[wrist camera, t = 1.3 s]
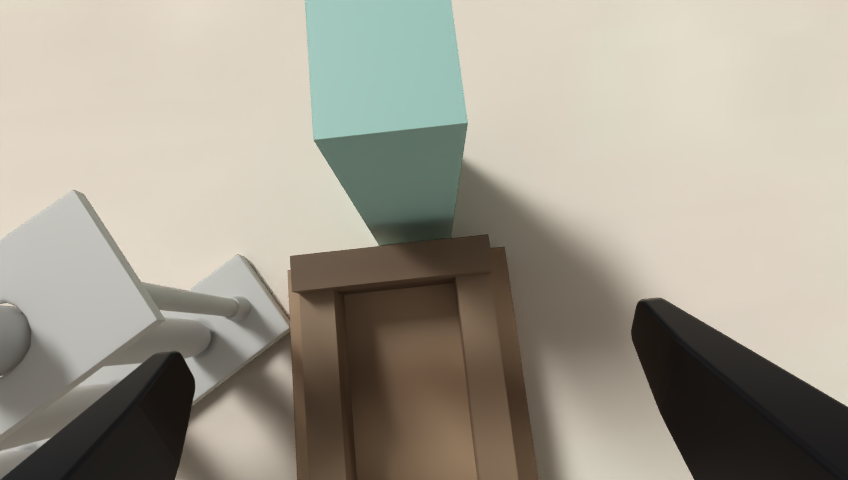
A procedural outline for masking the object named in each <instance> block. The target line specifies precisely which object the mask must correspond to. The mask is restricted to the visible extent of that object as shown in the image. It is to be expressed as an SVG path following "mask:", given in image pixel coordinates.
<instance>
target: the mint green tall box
mask: <svg viewBox="0 0 848 480" xmlns="http://www.w3.org/2000/svg"><path fill="white" fill-rule="evenodd" d="M305 10H306V26H307V42H308V58H309V74H310V91H311V107H312V123H313V139H314V141H315V143H316V145H317V146H318V148H319V149H320V151H321V153H322V154H323V156H324V157H325V159H326V161H327V162H328V164H329V165H330V167H331V169H332V170H333V172H334V173H335V175H336V177H337V178H338V180H339V182H340V183H341V185H342V186H343V188H344V190H345V191H346V193H347V194H348V196H349V198H350V199H351V201H352V202H353V204H354V206H355V207H356V209H357V210H358V212H359V214H360V215H361V217H362V218H363V220H364V222H365V223H366V225H367V227H368V228H369V230H370V231H371V233H372V235H373V236H374V238H375V239H376V241H377V243H378V244H379V246H381V245H390V244H399V243H408V242H417V241H426V240H435V239H445V238H451V232H452V225H453V219H454V212H455V205H456V198H457V192H458V185H459V178H460V171H461V165H462V158H463V151H464V144H465V138H466V131H467V124H468V121H467V114H466V107H465V99H464V92H463V85H462V77H461V70H460V62H459V55H458V48H457V40H456V33H455V26H454V18H453V11H452V3H451V0H305Z"/></svg>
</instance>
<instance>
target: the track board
mask: <svg viewBox="0 0 848 480" xmlns="http://www.w3.org/2000/svg"><path fill="white" fill-rule="evenodd" d="M290 265H291V270H288V289H289V310H290V331H291V353H292V374H293V396H294V417H295V438H296V460H297V480H538V475H537V468H536V461H535V454H534V448H533V441H532V434H531V427H530V420H529V413H528V406H527V399H526V392H525V385H524V378H523V372H522V365H521V358H520V351H519V344H518V337H517V330H516V323H515V316H514V309H513V302H512V296H511V289H510V282H509V275H508V268H507V261H506V254H505V247H497V248H490V244H489V236H488V234H487V235H478V236H469V237H459V238H450V239H441V240H432V241H423V242H414V243H405V244H396V245H386V246H377V247H368V248H359V249H350V250H341V251H332V252H323V253H313V254H304V255H295V256H290Z"/></svg>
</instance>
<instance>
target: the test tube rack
mask: <svg viewBox="0 0 848 480" xmlns="http://www.w3.org/2000/svg"><path fill="white" fill-rule="evenodd" d="M2 303H10V304H12V305H14V306H17V307H14V306H0V376H2V377H0V479H1V478H3V477H4V476H5V475H6V474H7V473H9V472H10V471H11V470H12V469H14V468H15V467H16V466H17V465H19V464H20V463H21V462H22V461H23V460H25V459H26V458H27V457H28V456H30V455H31V454H32V453H33V452H34V451H36V450H37V449H38V448H39V447H41V446H42V445H43V444H44V443H45V442H47V441H48V440H49V439H50V438H52V437H53V436H54V435H55V434H56V433H58V432H59V431H60V430H61V429H63V428H64V427H65V426H66V425H67V424H69V423H70V422H71V421H72V420H73V419H75V418H76V417H77V416H78V415H80V414H81V413H82V412H83V411H84V410H86V409H87V408H88V407H89V406H91V405H92V404H93V403H94V402H95V401H97V400H98V399H99V398H100V397H102V396H103V395H104V394H105V393H106V392H108V391H109V390H110V389H111V388H113V387H114V386H115V385H116V384H117V383H119V382H120V381H121V380H122V379H124V378H125V377H126V376H127V375H128V374H130V373H131V372H132V371H133V370H135V369H136V368H137V367H138V366H139V365H141V364H142V363H143V362H144V361H146V360H147V359H148V358H149V357H150V356H152V355H153V354H155V353H157V352H164V351H173V350H175V351H178V352H180V353H181V354H182V356H183V358H184V360H185V361H186V363H187V365H188V367H189V369H190V371H191V372H192V374H193V376H194V379H195V393H194V398H193V403H192V406H194V405H195V404H196V403H197V402H199V401H200V400H201V399H203V398H204V397H205V396H207V395H208V394H209V393H210V392H212V391H213V390H214V389H216V388H217V387H218V386H220V385H221V384H222V383H224V382H225V381H226V380H227V379H229V378H230V377H231V376H233V375H234V374H235V373H237V372H238V371H239V370H240V369H242V368H243V367H244V366H246V365H247V364H248V363H250V362H251V361H252V360H254V359H255V358H256V357H257V356H259V355H260V354H261V353H263V352H264V351H265V350H267V349H268V348H269V347H271V346H272V345H273V344H275V343H276V342H277V341H278V340H280V339H281V338H282V337H284V336H285V335H286V334H288V333H289V332H290V320H289V319H288V318H287V316H286V315H285V313H284V312H283V311H282V309H281V308H280V306H279V305H278V303H277V302H276V301H275V299H274V298H273V297H272V295H271V294H270V292H269V291H268V289H267V288H266V287H265V285H264V284H263V282H262V281H261V279H260V278H259V277H258V275H257V274H256V272H255V271H254V270H253V268H252V267H251V265H250V264H249V262H248V261H247V260H246V258H245V257H244V256H241V255H239V254H237V255H236V256H234V257H233V258H232V259H230V260H229V261H227V262H226V263H225V264H223V265H222V266H221V267H219V268H218V269H217V270H215V271H214V272H213V273H211V274H210V275H208V276H207V277H206V278H204V279H203V280H202V281H200V282H199V283H198V284H196V285H195V286H194V287H192V288H191V289H189V290H188V291H187V290H182V289H176V288H171V287H165V286H160V285H154V284H149V283H144V282H141V281H140V279H139V278H138V276H137V275H136V273H135V272H134V270H133V269H132V267H131V266H130V264H129V262H128V261H127V259H126V258H125V256H124V255H123V253H122V252H121V250H120V249H119V247H118V246H117V244H116V242H115V241H114V239H113V238H112V236H111V235H110V233H109V232H108V230H107V229H106V227H105V226H104V224H103V222H102V221H101V219H100V218H99V216H98V215H97V213H96V212H95V210H94V209H93V207H92V206H91V204H90V202H89V201H88V199H87V198H86V196H85V195H84V194H83V193H80V192H78V191H75V190H72V191H71V192H69V193H68V194H66V195H65V196H63V197H62V198H60V199H59V200H58V201H56V202H55V203H53V204H52V205H50V206H49V207H47V208H46V209H44V210H43V211H41V212H40V213H39V214H37V215H36V216H34V217H33V218H31V219H30V220H28V221H27V222H25V223H24V224H22V225H21V226H20V227H18V228H17V229H15V230H14V231H12V232H11V233H9V234H8V235H6V236H5V237H4V238H2V239H1V240H0V304H2ZM160 310H161V311H160Z"/></svg>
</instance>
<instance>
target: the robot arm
mask: <svg viewBox="0 0 848 480" xmlns="http://www.w3.org/2000/svg"><path fill="white" fill-rule="evenodd" d="M631 335H632V341H633V344H634V346H635V349H636V352H637V354H638V357H639V359H640V362H641V365H642V367H643V370H644V373H645V375H646V378H647V380H648V383H649V386H650V388H651V391H652V394H653V396H654V399H655V401H656V404H657V406H658V409H659V411H660V413H661V415H662V417H663V420H664V422H665V424H666V426H667V428H668V430H669V432H670V433H671V435H672V437H673V439H674V441H675V443H676V445H677V447H678V449H679V451H680V453H681V455H682V457H683V459H684V461H685V463H686V465H687V467H688V469H689V470H690V472H691V474H692V476H693V478H694V480H848V407H847V406H845V405H844V404H842V403H840V402H839V401H837V400H835V399H833V398H832V397H830V396H828V395H827V394H825V393H823V392H821V391H820V390H818V389H816V388H815V387H813V386H811V385H810V384H808V383H806V382H804V381H803V380H801V379H799V378H798V377H796V376H794V375H792V374H791V373H789V372H787V371H786V370H784V369H782V368H781V367H779V366H777V365H775V364H774V363H772V362H770V361H769V360H767V359H765V358H763V357H762V356H760V355H758V354H757V353H755V352H753V351H752V350H750V349H748V348H746V347H745V346H743V345H741V344H740V343H738V342H736V341H734V340H733V339H731V338H729V337H728V336H726V335H724V334H723V333H721V332H719V331H717V330H716V329H714V328H712V327H711V326H709V325H707V324H705V323H704V322H702V321H700V320H699V319H697V318H695V317H694V316H692V315H690V314H688V313H687V312H685V311H683V310H682V309H680V308H678V307H676V306H675V305H673V304H671V303H670V302H668V301H666V300H664V299H662V298H650V299H642V300H640V301H639V302H638V303H637V306H636V310H635V315H634V320H633V324H632V330H631ZM194 393H195V379H194V376H193V374H192V372H191V371H190V369H189V367H188V365H187V363H186V361H185V360H184V358H183V356H182V354H181V353H180V352H178V351H175V350H173V351H164V352H157V353H155V354H153V355H152V356H150V357H149V358H148V359H147V360H146V361H144V362H143V363H142V364H141V365H139V366H138V367H137V368H136V369H135V370H133V371H132V372H131V373H130V374H128V375H127V376H126V377H125V378H124V379H122V380H121V381H120V382H119V383H117V384H116V385H115V386H114V387H113V388H111V389H110V390H109V391H108V392H106V393H105V394H104V395H103V396H102V397H100V398H99V399H98V400H97V401H95V402H94V403H93V404H92V405H91V406H89V407H88V408H87V409H86V410H84V411H83V412H82V413H81V414H80V415H78V416H77V417H76V418H75V419H73V420H72V421H71V422H70V423H69V424H67V425H66V426H65V427H64V428H63V429H61V430H60V431H59V432H58V433H56V434H55V435H54V436H53V437H52V438H50V439H49V440H48V441H47V442H45V443H44V444H43V445H42V446H41V447H39V448H38V449H37V450H36V451H34V452H33V453H32V454H31V455H30V456H28V457H27V458H26V459H25V460H23V461H22V462H21V463H20V464H19V465H17V466H16V467H15V468H14V469H12V470H11V471H10V472H9V473H7V474H6V475H5V476H4V477H3V478H1V479H0V480H175V477H176V473H177V470H178V467H179V463H180V459H181V455H182V450H183V446H184V441H185V436H186V431H187V427H188V422H189V417H190V412H191V408H192V403H193V398H194Z"/></svg>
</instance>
